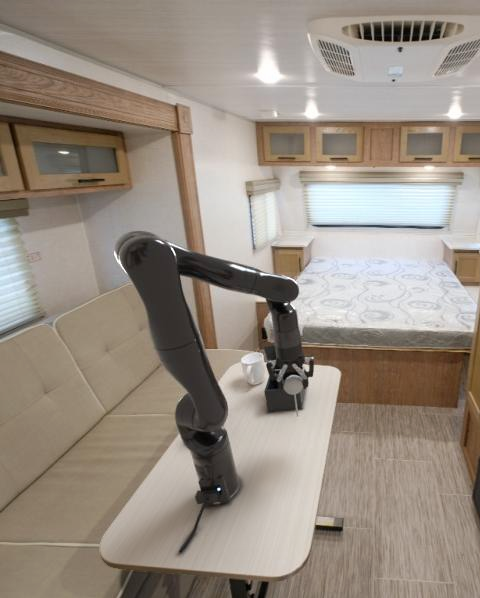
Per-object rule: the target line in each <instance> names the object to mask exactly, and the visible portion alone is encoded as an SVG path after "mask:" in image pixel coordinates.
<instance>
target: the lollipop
mask: <svg viewBox="0 0 480 598" xmlns="http://www.w3.org/2000/svg"><path fill="white" fill-rule="evenodd" d="M283 388H284V390H285V391H286V392H287V393H288V394H291V395H294V398H295V405H296V410H295V412H296V413H295V414H296V417H299V409H297V401H296V394H297V393H299V392H300V391H301V390H302V388H303V380H302V378H301V377H299V376H297V375H291V376H289V377H288V378H286V380H285V381H284V383H283Z"/></svg>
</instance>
